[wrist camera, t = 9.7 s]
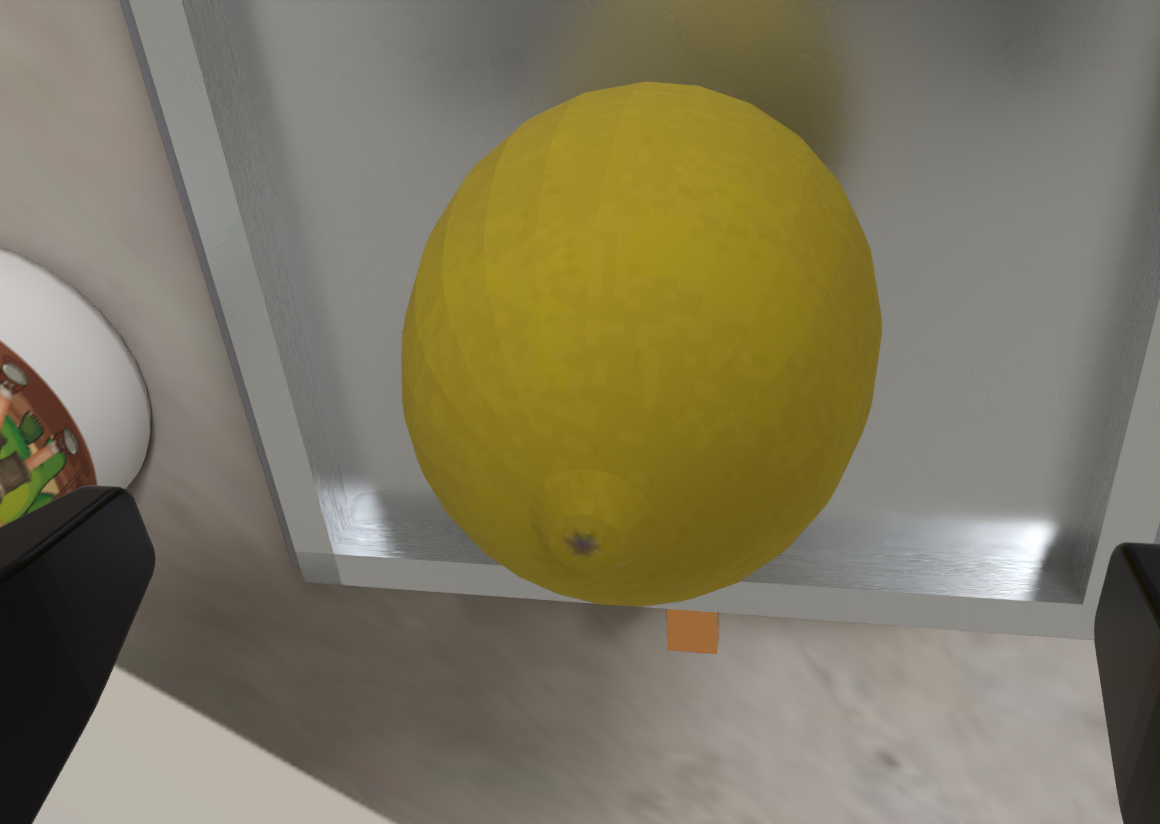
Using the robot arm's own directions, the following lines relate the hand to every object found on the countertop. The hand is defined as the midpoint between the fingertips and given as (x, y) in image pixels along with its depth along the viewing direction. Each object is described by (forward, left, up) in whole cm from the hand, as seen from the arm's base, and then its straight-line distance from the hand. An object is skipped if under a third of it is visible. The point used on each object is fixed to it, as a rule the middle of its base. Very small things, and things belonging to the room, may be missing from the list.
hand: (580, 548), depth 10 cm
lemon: (0, 0, -8) cm, 8 cm away
